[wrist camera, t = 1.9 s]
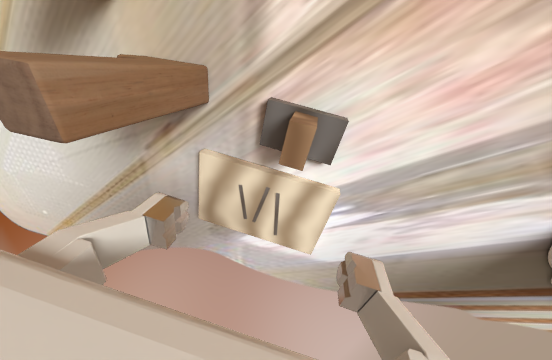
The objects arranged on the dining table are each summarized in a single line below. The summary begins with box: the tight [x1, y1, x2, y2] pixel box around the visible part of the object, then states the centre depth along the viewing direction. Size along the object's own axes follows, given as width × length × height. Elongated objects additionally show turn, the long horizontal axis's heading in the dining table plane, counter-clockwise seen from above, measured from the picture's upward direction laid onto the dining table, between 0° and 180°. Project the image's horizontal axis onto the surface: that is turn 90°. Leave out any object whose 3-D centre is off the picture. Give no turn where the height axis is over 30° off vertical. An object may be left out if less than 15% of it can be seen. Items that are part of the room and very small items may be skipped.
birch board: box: [199, 149, 340, 255], centre depth 33 cm, size 22×14×2 cm, turn 77°
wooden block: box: [0, 51, 209, 143], centre depth 19 cm, size 9×4×18 cm, turn 82°
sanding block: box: [260, 97, 349, 171], centre depth 24 cm, size 10×6×7 cm, turn 77°
